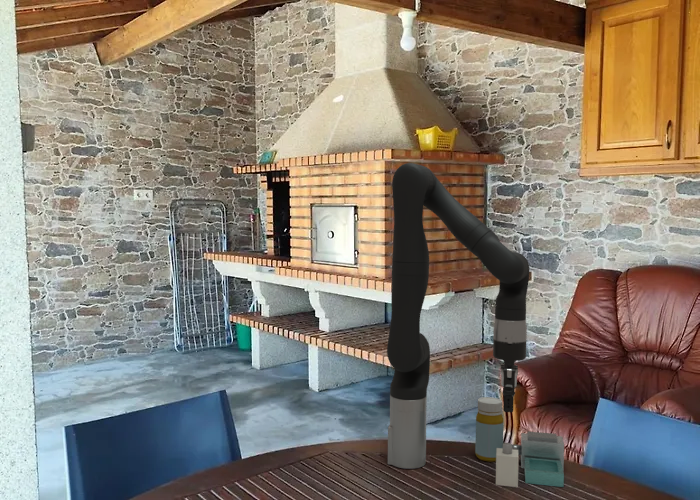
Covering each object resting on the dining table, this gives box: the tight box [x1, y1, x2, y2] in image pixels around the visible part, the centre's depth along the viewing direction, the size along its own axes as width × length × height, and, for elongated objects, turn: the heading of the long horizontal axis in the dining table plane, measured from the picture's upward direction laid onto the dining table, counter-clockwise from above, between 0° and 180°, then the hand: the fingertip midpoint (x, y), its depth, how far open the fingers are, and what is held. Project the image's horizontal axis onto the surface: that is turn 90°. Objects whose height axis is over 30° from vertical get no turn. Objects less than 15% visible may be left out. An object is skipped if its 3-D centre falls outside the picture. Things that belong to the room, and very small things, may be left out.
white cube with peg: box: [495, 442, 519, 488], centre depth 147 cm, size 5×5×9 cm
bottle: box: [474, 396, 505, 463], centre depth 162 cm, size 7×7×15 cm
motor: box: [511, 431, 565, 488], centre depth 153 cm, size 13×15×8 cm
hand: (508, 406), depth 147 cm, fingers open, 8 cm apart
